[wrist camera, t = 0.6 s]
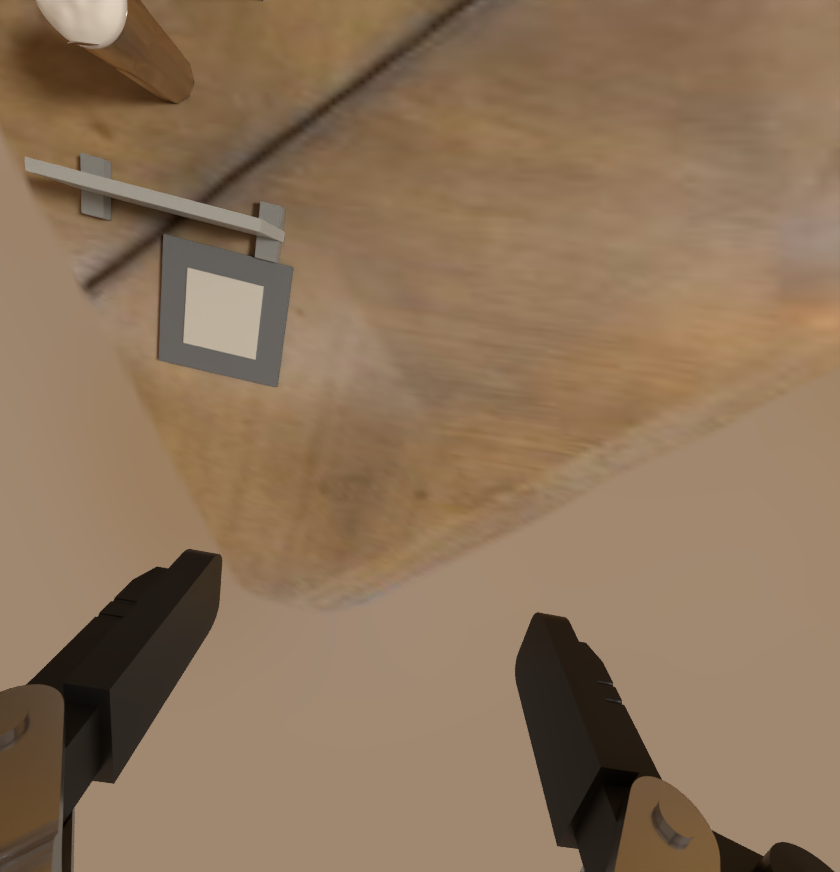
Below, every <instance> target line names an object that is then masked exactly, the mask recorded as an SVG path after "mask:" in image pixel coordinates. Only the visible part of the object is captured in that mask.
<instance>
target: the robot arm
mask: <svg viewBox="0 0 840 872" xmlns="http://www.w3.org/2000/svg"><path fill="white" fill-rule="evenodd" d="M221 571H222V557H221V555H220V554H215V553H209V552H203V551H198V550H192V549H188V550H186V551H184V552H183V553H182V554H181V556H180V557H179V558H178V559H177V560H176V561H175V562H174V563H173V564H172V565H171V566H170V567H169V568H168V569H167V568H162V567H155V568H154V569H152V570H150V571H148V572H146V573H144V574H143V575H141V576H139V577H137V578H135V579H133V580H132V581H131V582H130V583H129V584H128V585H127V586H126V587H125V588H124V589H123V590H122V591H121V592H120V593H119V594H118V595H117V596H116V597H115V599H114V601H111V602H110V603H109V604H108V605H107V606H106V607H105V608H104V609H103V610H102V611H101V612H100V613H99V616H98V617H95V618H94V619H93V620H92V621H91V622H90V623H89V624H88V625H87V626H86V627H85V628H84V629H82V631H80V633H78V634H77V636H75V637H74V639H72V640H71V641H70V642H69V643H68V644H67V646H65V647H64V648H63V649H62V650H61V651H60V652H59V653H58V654H57V655H56V656H55V657H54V658H53V659H52V660H51V661H50V662H49V663H48V664H47V665H46V666H45V667H44V668H43V669H42V670H41V671H40V672H39V673H38V674H37V675H36V676H35V677H34V678H33V679H32V680H31V681H29V682H28V684H26V685H23V686H18V687H14V688H10V689H7V690H4V691H1V692H0V872H74V823H75V822H74V821H75V809H74V807H75V806H76V804H77V803H78V801H79V800H80V798H81V797H82V795H83V794H84V792H85V791H86V789H87V788H88V786H89V785H90V783H91V782H92V781H99V782H106V783H115V781H116V780H117V778H118V776H119V775H120V773H121V772H122V770H123V768H124V767H125V765H126V764H127V762H128V760H129V759H130V757H131V756H132V754H133V752H134V751H135V749H136V748H137V746H138V744H139V743H140V741H141V740H142V738H143V736H144V735H145V733H146V732H147V730H148V729H149V727H150V725H151V724H152V722H153V721H154V719H155V717H156V716H157V714H158V713H159V711H160V709H161V708H162V706H163V704H164V703H165V701H166V700H167V698H168V697H169V695H170V693H171V692H172V690H173V689H174V687H175V686H176V684H177V682H178V681H179V679H180V678H181V676H182V674H183V673H184V671H185V670H186V668H187V666H188V665H189V663H190V661H191V660H192V658H193V657H194V655H195V653H196V652H197V650H198V649H199V647H200V646H201V644H202V643H203V641H204V639H205V638H206V636H207V635H208V633H209V631H210V629H211V628H212V625H213V623H214V621H215V618H216V615H217V612H218V608H219V600H220V586H221ZM515 677H516V684H517V688H518V692H519V696H520V700H521V704H522V708H523V712H524V716H525V720H526V724H527V728H528V732H529V736H530V740H531V744H532V748H533V751H534V756H535V759H536V764H537V768H538V771H539V775H540V779H541V783H542V787H543V791H544V795H545V799H546V803H547V807H548V811H549V815H550V819H551V823H552V827H553V831H554V835H555V839H556V843H557V846H560V847H568V848H576V849H579V853H580V856H581V860H582V863H583V867H582V869H581V871H580V872H834V871H833V870H832V869H831V868H830V867H828V866H827V865H826V864H825V863H823V862H822V861H821V860H820V859H818V858H817V857H815V856H814V855H813V854H811V853H810V852H808V851H806V850H805V849H803V848H801V847H798V846H796V845H793V844H790V843H786V842H780V843H776V844H775V845H773V846H772V847H771V849H770V850H769V851H768V852H767V853H766V854H765V856H762V855H760V854H757V853H756V852H754V851H751V850H750V849H748V848H746V847H744V846H742V845H740V844H738V843H736V842H734V841H732V840H730V839H727V838H726V837H724V836H722V835H720V834H718V833H716V832H714V831H713V830H711V828H710V826H709V824H708V823H707V821H706V820H705V818H704V817H703V815H702V814H701V813H700V811H699V810H698V809H697V808H696V806H695V805H694V804H693V803H692V802H691V801H690V800H689V799H688V798H687V797H686V796H685V795H684V794H683V793H681V792H680V791H679V790H678V789H677V788H675V787H674V786H672V785H671V784H669V783H667V782H665V781H663V780H662V779H661V777H660V775H659V773H658V771H657V769H656V767H655V765H654V763H653V761H652V759H651V757H650V755H649V753H648V751H647V749H646V747H645V745H644V743H643V741H642V739H641V737H640V735H639V733H638V731H637V729H636V728H635V726H634V724H633V721H632V719H631V717H630V716H629V714H628V712H627V710H626V708H625V706H624V705H622V700H621V698H620V696H619V694H618V692H617V690H616V688H615V687H613V682H612V680H611V678H610V676H609V674H608V672H607V670H606V668H605V666H604V664H603V662H602V661H601V660H600V659H599V657H598V656H597V655H596V654H595V653H594V652H593V650H592V649H591V648H590V647H589V646H588V645H587V644H586V643H584V642H579V641H578V639H577V637H576V634H575V632H574V630H573V628H572V626H571V624H570V622H569V620H568V619H567V618H565V617H560V616H555V615H549V614H543V613H535V614H534V615H533V617H532V619H531V622H530V624H529V627H528V630H527V632H526V635H525V637H524V640H523V642H522V645H521V647H520V650H519V653H518V655H517V659H516V665H515Z"/></svg>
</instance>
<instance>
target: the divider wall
mask: <svg viewBox="0 0 840 872" xmlns="http://www.w3.org/2000/svg"><path fill="white" fill-rule="evenodd" d="M80 161H81V171H78V170H74V169H70V168H66V167H63V166H59V165H55V164H51V163H48V162H44V161H40V160H36V159H32V158H29V157H25V170H26V171H28V172H31V173H34V174H37V175H40V176H43V177H46V178H49V179H51V180H54V181H57V182H60V183H63V184H66V185H69V186H72V187H75V188H78V189H81V211H82V213H84V214H87V215H91V216H95V217H99V218H103V219H107V220H111V198H113V199H117V200H121V201H125V202H129V203H133V204H136V205H140V206H144V207H148V208H152V209H156V210H160V211H163V212H167V213H171V214H175V215H179V216H183V217H186V218H190V219H194V220H198V221H202V222H206V223H209V224H213V225H217V226H221V227H225V228H229V229H232V230H236V231H240V232H244V233H248V234H252V235H256V236H257V239H256V249H255V257H256V258H259V259H263V260H267V261H271V262H275V263H279V255H280V247H281V242H282V243H284V236H285V232H284V231H282V230H283V222H284V214H285V208H283V207H282V206H278V205H274V204H271V203H267V202H263V201H260V210H259V218H256V217H252V216H248V215H244V214H241V213H237V212H233V211H229V210H225V209H222V208H218V207H214V206H210V205H207V204H203V203H199V202H195V201H191V200H188V199H184V198H180V197H176V196H172V195H169V194H165V193H161V192H157V191H154V190H150V189H146V188H142V187H138V186H135V185H131V184H127V183H123V182H119V181H116V180H112V179H111V162H109V161H107V160H105V159H102V158H99V157H95V156H91V155H87V154H84V153H80Z"/></svg>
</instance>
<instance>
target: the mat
mask: <svg viewBox="0 0 840 872" xmlns="http://www.w3.org/2000/svg"><path fill="white" fill-rule="evenodd" d="M292 274H293V267H291V266H287V265H283V264H279V263H275V262H271V261H267V260H263V259H259V258H255V257H252V256H248V255H244V254H240V253H236V252H232V251H228V250H224V249H220V248H216V247H212V246H209V245H205V244H201V243H197V242H193V241H189V240H185V239H181V238H177V237H173V236H169V235H166V234H163V258H162V284H161V311H160V338H159V360H160V361H164V362H168V363H173V364H177V365H181V366H186V367H190V368H194V369H199V370H203V371H207V372H212V373H216V374H220V375H225V376H229V377H233V378H238V379H242V380H246V381H251V382H255V383H259V384H264V385H268V386H272V387H278V380H279V372H280V365H281V357H282V350H283V342H284V335H285V327H286V319H287V312H288V304H289V297H290V289H291V282H292Z"/></svg>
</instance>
